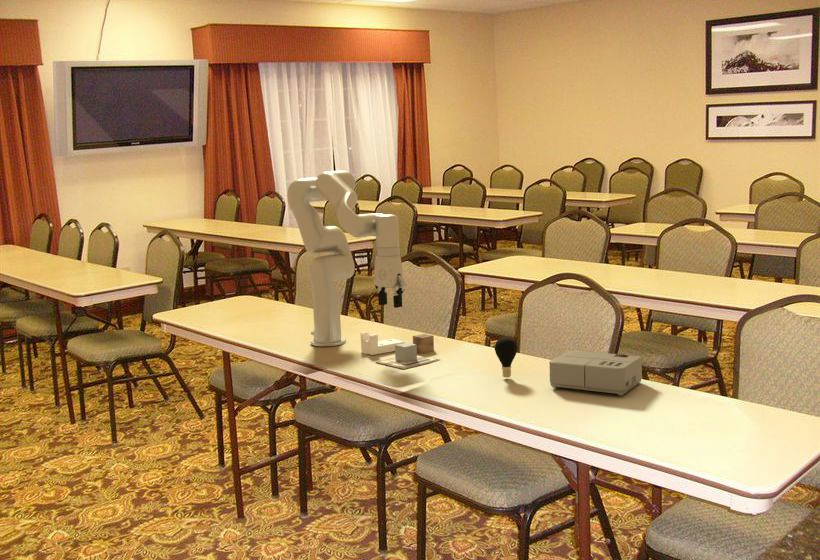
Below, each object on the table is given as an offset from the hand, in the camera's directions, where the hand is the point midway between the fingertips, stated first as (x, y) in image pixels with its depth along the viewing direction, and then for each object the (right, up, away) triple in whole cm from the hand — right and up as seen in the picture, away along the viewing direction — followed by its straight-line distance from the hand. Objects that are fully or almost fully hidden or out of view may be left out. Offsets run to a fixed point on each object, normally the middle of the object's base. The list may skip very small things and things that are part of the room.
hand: (390, 305), depth 286 cm
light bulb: (+35, -21, -28) cm, 50 cm away
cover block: (+5, -18, -3) cm, 19 cm away
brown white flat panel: (+6, -18, -4) cm, 19 cm away
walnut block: (+11, -16, +9) cm, 22 cm away
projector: (+59, -22, -40) cm, 75 cm away
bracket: (-3, -17, +12) cm, 21 cm away
